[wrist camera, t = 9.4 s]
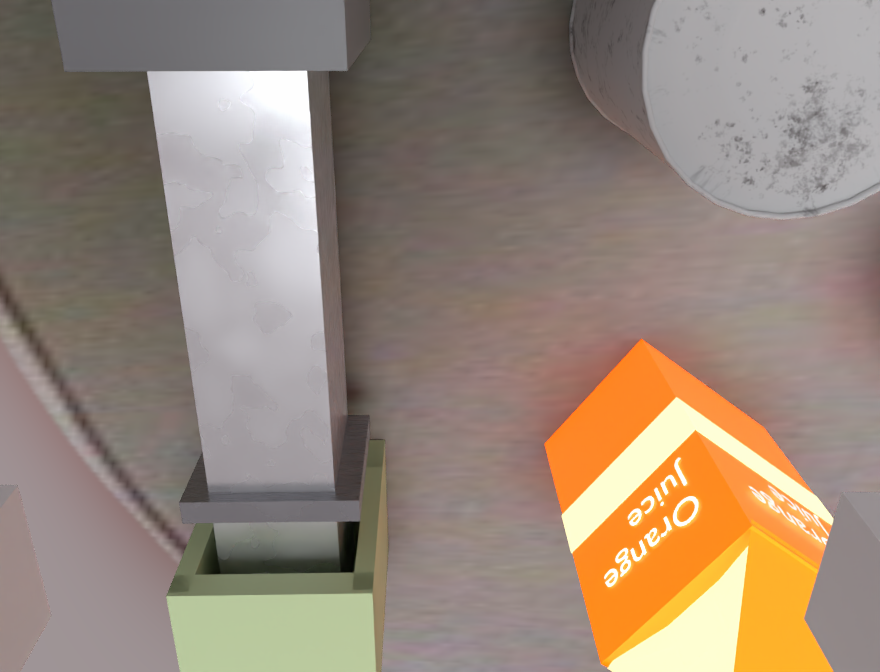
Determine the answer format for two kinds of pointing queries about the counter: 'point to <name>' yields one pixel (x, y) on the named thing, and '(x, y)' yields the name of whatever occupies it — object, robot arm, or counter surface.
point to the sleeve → (211, 34)
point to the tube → (262, 316)
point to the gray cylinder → (743, 95)
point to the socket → (286, 603)
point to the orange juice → (686, 527)
